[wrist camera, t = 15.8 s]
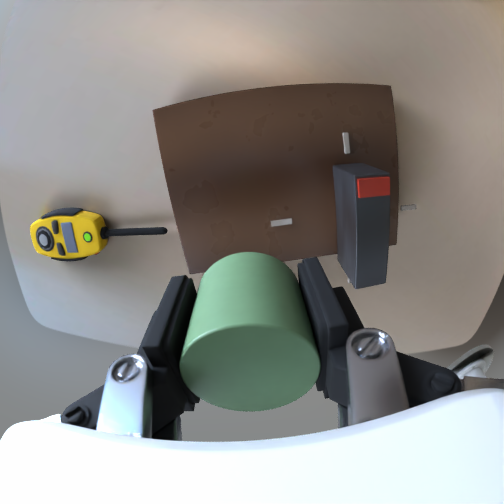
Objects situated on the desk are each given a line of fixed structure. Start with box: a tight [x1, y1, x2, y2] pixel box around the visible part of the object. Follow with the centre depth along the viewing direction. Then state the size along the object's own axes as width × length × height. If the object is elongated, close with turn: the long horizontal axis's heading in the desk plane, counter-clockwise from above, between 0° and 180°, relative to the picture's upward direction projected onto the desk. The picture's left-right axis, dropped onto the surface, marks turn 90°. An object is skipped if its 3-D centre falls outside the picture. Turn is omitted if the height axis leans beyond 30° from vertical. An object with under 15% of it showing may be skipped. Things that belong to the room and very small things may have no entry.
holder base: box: [153, 83, 416, 283], centre depth 19 cm, size 15×18×3 cm
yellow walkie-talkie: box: [30, 208, 167, 261], centre depth 21 cm, size 5×2×15 cm
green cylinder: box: [179, 252, 321, 411], centre depth 9 cm, size 4×4×4 cm
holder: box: [333, 163, 390, 289], centre depth 16 cm, size 7×2×4 cm, turn 9°
